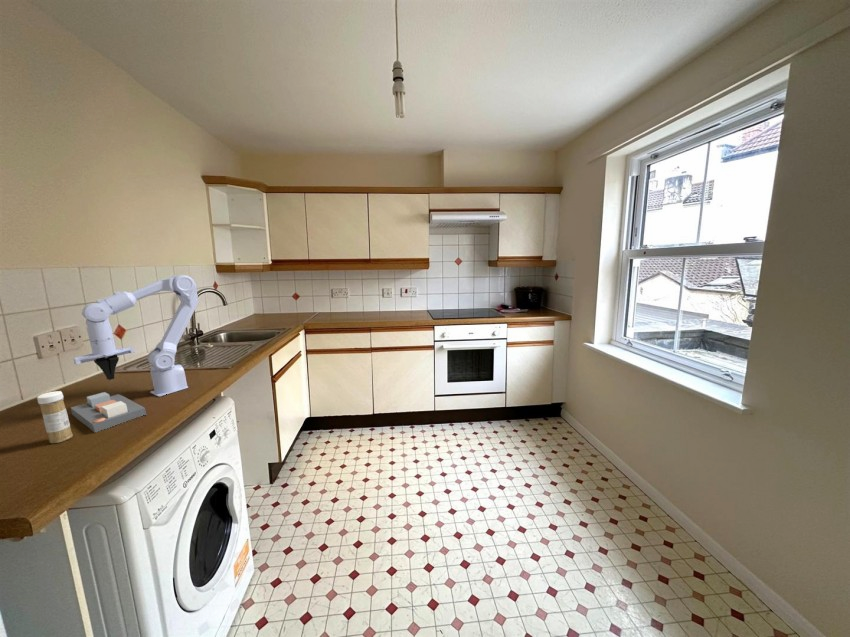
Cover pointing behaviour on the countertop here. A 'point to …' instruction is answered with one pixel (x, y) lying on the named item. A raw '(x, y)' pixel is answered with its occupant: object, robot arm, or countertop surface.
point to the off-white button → (114, 409)
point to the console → (100, 422)
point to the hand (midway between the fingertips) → (110, 378)
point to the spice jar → (55, 416)
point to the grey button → (98, 399)
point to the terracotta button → (99, 406)
